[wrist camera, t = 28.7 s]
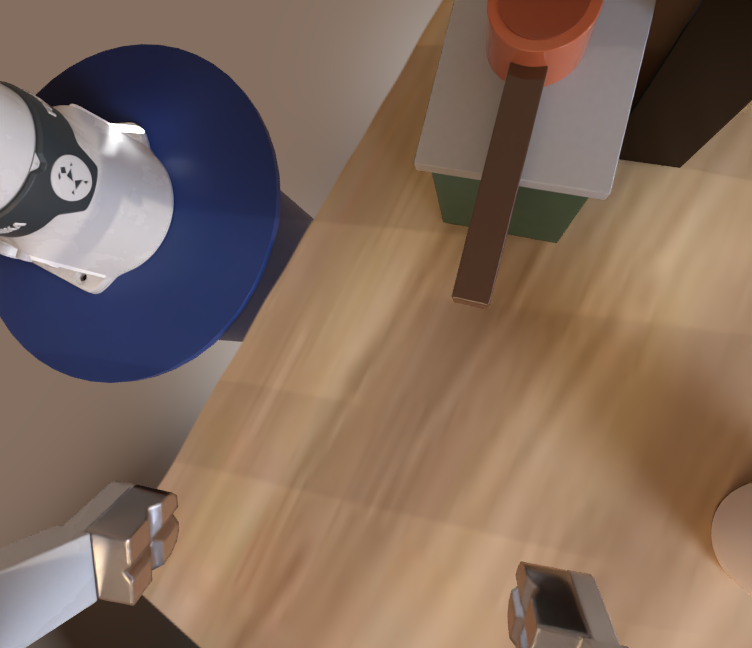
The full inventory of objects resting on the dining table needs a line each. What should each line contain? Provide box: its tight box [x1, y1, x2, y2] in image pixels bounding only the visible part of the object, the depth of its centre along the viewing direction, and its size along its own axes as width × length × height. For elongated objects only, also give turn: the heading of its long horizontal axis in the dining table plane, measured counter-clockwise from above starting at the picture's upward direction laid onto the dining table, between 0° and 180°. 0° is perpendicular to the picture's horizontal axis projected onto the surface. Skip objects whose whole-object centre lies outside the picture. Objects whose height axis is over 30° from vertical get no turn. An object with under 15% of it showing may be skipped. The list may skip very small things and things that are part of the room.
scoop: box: [452, 0, 603, 310], centre depth 24 cm, size 6×18×3 cm, turn 166°
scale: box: [414, 0, 656, 243], centre depth 33 cm, size 11×16×16 cm
